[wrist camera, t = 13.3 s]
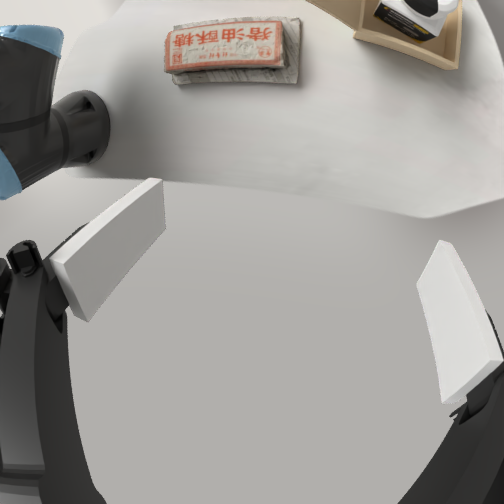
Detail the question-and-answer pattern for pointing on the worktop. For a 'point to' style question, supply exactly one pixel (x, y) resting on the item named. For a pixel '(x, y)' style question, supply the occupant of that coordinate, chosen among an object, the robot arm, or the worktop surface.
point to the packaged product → (234, 51)
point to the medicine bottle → (416, 16)
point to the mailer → (375, 31)
